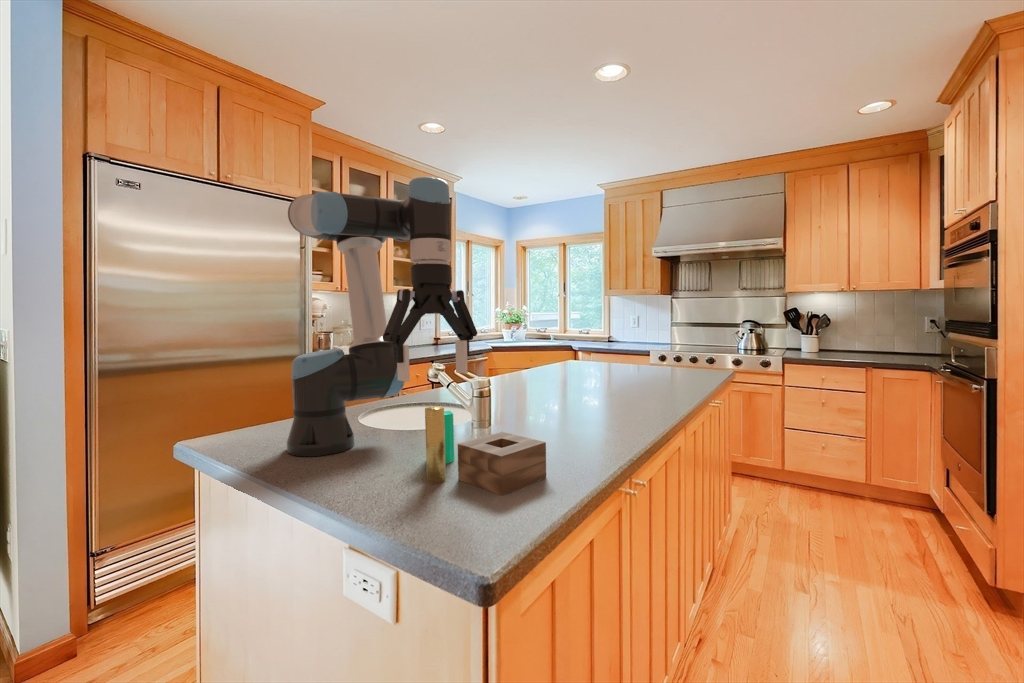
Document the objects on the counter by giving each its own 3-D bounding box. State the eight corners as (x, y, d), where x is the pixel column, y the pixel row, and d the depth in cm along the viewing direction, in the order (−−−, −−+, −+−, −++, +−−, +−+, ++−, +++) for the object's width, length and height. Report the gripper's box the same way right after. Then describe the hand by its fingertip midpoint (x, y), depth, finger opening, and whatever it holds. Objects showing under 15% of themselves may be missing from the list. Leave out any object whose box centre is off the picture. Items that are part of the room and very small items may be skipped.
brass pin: (423, 480, 93) (421, 408, 92) (438, 475, 96) (436, 405, 95) (434, 484, 91) (432, 411, 90) (449, 479, 93) (447, 408, 92)
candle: (449, 464, 102) (448, 408, 102) (422, 463, 104) (421, 408, 103) (458, 456, 108) (456, 403, 107) (432, 455, 109) (431, 402, 109)
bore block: (458, 479, 93) (457, 443, 93) (502, 464, 102) (502, 431, 102) (502, 495, 85) (501, 456, 85) (546, 477, 94) (545, 442, 93)
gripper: (382, 257, 79) (387, 386, 80) (493, 266, 97) (495, 371, 98) (359, 261, 84) (364, 382, 86) (468, 268, 102) (470, 368, 104)
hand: (434, 376), depth 92 cm, fingers open, 13 cm apart
